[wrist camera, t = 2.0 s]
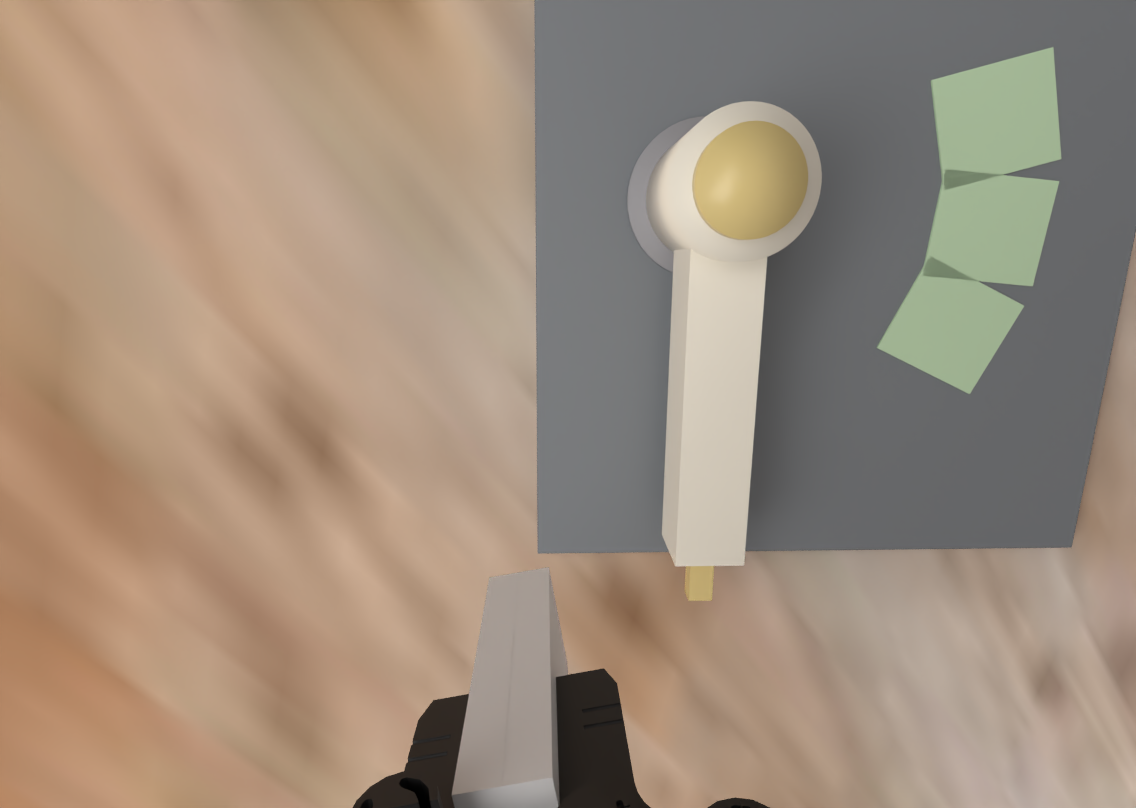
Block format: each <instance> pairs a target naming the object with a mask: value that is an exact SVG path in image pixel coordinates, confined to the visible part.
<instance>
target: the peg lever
mask: <svg viewBox="0 0 1136 808" xmlns="http://www.w3.org/2000/svg"><path fill="white" fill-rule="evenodd" d="M821 184H822V170H821V162H820V157H819V153H818V150H817V148H816V145H815V143H814V141H813V139H812V137H811V135H810V133H809V132H808V131H807V129H806V128H805V126H804V125H803V124H802V123H801V122H800V121H799V120H798V119H797V118H796V117H794V116H793V115H792V114H790V113H789V112H787V111H786V110H784V109H782V108H780V107H777V106H775V105H772V104H769V103H764V102H757V101H744V102H738V103H733V104H729V105H727V106H724V107H721V108H719V109H717V110H715V111H713V112H712V113H710V114H709V115H707V116H706V117H704V118H703V119H702V120H701V121H700V122H699V123H698V124H696V125H695V126H694V127H693V128H692V129H691V130H690V131H689V132H687V133H686V134H685V135H684V136H683V137H682V138H681V139H680V140H678V141H677V142H676V143H675V144H674V145H673V146H672V147H671V148H670V149H668V150H667V151H666V152H665V153H664V154H663V156H662V157H661V158H660V159H659V161H658V162H657V164H656V165H655V167H654V169H653V171H652V173H651V176H650V179H649V182H648V186H647V192H646V208H647V215H648V218H649V222H650V224H651V226H652V229H653V231H654V232H655V234H656V236H657V237H658V238H659V240H660V241H661V242H662V243H663V244H664V245H665V246H666V247H667V248H668V249H670V250H671V251H672V252H674V260H673V284H672V307H671V331H670V354H669V378H668V401H667V425H666V448H665V472H664V495H663V519H662V536H663V538H664V541H665V543H666V546H667V548H668V550H669V553H670V555H671V557H672V560H673V562H674V564H675V566H686V575H685V593H686V596H687V598H688V600H689V601H712V590H713V574H714V566H744V560H745V546H746V533H747V520H748V507H749V493H750V480H751V467H752V454H753V440H754V427H755V414H756V401H757V387H758V374H759V361H760V347H761V334H762V321H763V308H764V294H765V281H766V268H767V257H768V256H771V255H773V254H775V253H777V252H779V251H780V250H782V249H783V248H785V247H787V246H788V245H789V244H790V243H791V242H793V241H794V240H795V239H796V238H797V237H798V236H799V235H800V233H801V232H802V231H803V230H804V228H805V227H806V226H807V224H808V223H809V221H810V219H811V217H812V216H813V213H814V211H815V209H816V206H817V203H818V200H819V196H820V191H821Z"/></svg>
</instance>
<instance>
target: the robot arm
mask: <svg viewBox="0 0 1136 808" xmlns="http://www.w3.org/2000/svg"><path fill="white" fill-rule="evenodd" d="M353 808H650V807H649V806H648V805H647V804H646V803H645V802H644V801H643V800H642V798H641V797H640V795H639V794H638V792H637V789H636V786H635V783H634V777H633V772H632V766H631V760H630V755H629V749H628V743H627V738H626V732H625V726H624V721H623V715H622V709H621V704H620V698H619V692H618V687H617V683H616V682H615V681H614V680H613V678H612V677H611V676H610V675H609V674H608V673H607V672H606V670H605V669H599V670H593V671H587V672H582V673H576V674H570V675H568V667H567V659H566V654H565V649H564V643H563V638H562V633H561V628H560V623H559V618H558V612H557V607H556V602H555V597H554V592H553V587H552V581H551V576H550V571H549V567H547V568H541V569H536V570H530V571H524V572H519V573H513V574H507V575H502V576H496V577H490V578H489V583H488V589H487V595H486V600H485V606H484V612H483V618H482V623H481V629H480V635H479V640H478V646H477V652H476V658H475V663H474V669H473V675H472V681H471V686H470V692H469V694H467V695H461V696H455V697H450V698H444V699H438V700H433V702H432V703H431V704H430V706H429V707H428V708H427V710H426V711H425V712H424V713H423V715H422V716H421V717H420V719H419V720H418V723H417V727H416V731H415V734H414V738H413V745H411V749H410V752H409V756H408V763H406V767H405V771H404V772H400V773H397V774H394V775H391V776H388V777H386V778H384V779H382V780H381V781H379V782H377V783H376V784H374V785H373V786H371V787H370V788H369V789H368V790H367V791H366V792H365V793H364V794H363V795H362V796H361V797H360V798H359V799H358V800H357V801H356V803H355V805H354V806H353ZM708 808H769V807H767V806H765V805H763V804H761V803H758V802H756V801H754V800H750V799H742V798H730V799H726V800H721V801H717V802H716V803H714V804H712V805H711V806H709V807H708Z"/></svg>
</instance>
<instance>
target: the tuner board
mask: <svg viewBox="0 0 1136 808" xmlns="http://www.w3.org/2000/svg"><path fill="white" fill-rule="evenodd" d="M744 101H757V102H764V103H769V104H772V105H775V106H777V107H780V108H782V109H784V110H786V111H787V112H789V113H790V114H792V115H793V116H794V117H796V118H797V119H798V120H799V121H800V122H801V123H802V124H803V125H804V126H805V128H806V129H807V131H808V132H809V133H810V135H811V137H812V139H813V141H814V143H815V145H816V148H817V150H818V153H819V157H820V162H821V170H822V184H821V191H820V196H819V200H818V203H817V206H816V209H815V211H814V213H813V216H812V217H811V219H810V221H809V223H808V224H807V226H806V227H805V228H804V230H803V231H802V232H801V233H800V235H799V236H798V237H797V238H796V239H795V240H794V241H793V242H791V243H790V244H789V245H788V246H787V247H785V248H783V249H782V250H780V251H779V252H777V253H775V254H773V255H771V256H768V257H767V268H766V281H765V294H764V308H763V321H762V334H761V347H760V361H759V374H758V387H757V401H756V414H755V427H754V440H753V454H752V467H751V480H750V493H749V507H748V520H747V533H746V546H745V551H795V550H884V549H972V548H1061V547H1072V543H1073V538H1074V533H1075V528H1076V523H1077V518H1078V513H1079V508H1080V503H1081V498H1082V493H1083V488H1084V483H1085V478H1086V474H1087V469H1088V464H1089V459H1090V454H1091V449H1092V444H1093V439H1094V434H1095V429H1096V424H1097V419H1098V414H1099V409H1100V404H1101V400H1102V395H1103V390H1104V385H1105V380H1106V375H1107V370H1108V365H1109V360H1110V355H1111V350H1112V345H1113V340H1114V335H1115V330H1116V325H1117V321H1118V316H1119V311H1120V306H1121V301H1122V296H1123V291H1124V286H1125V281H1126V276H1127V271H1128V266H1129V261H1130V256H1131V251H1132V247H1133V242H1134V237H1135V232H1136V0H535V155H536V332H537V510H538V553H618V552H669V550H668V548H667V546H666V543H665V541H664V538H663V536H662V519H663V495H664V472H665V448H666V425H667V401H668V378H669V354H670V331H671V307H672V284H673V260H674V252H672V251H671V250H670V249H668V248H667V247H666V246H665V245H664V244H663V243H662V242H661V241H660V240H659V238H658V237H657V236H656V234H655V232H654V231H653V229H652V226H651V224H650V222H649V218H648V215H647V208H646V192H647V186H648V182H649V179H650V176H651V173H652V171H653V169H654V167H655V165H656V164H657V162H658V161H659V159H660V158H661V157H662V156H663V154H664V153H665V152H666V151H667V150H668V149H670V148H671V147H672V146H673V145H674V144H675V143H676V142H677V141H678V140H680V139H681V138H682V137H683V136H684V135H685V134H686V133H687V132H689V131H690V130H691V129H692V128H693V127H694V126H695V125H696V124H698V123H699V122H700V121H701V120H702V119H703V118H704V117H706V116H707V115H709V114H710V113H712V112H713V111H715V110H717V109H719V108H721V107H724V106H727V105H729V104H733V103H738V102H744Z"/></svg>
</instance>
